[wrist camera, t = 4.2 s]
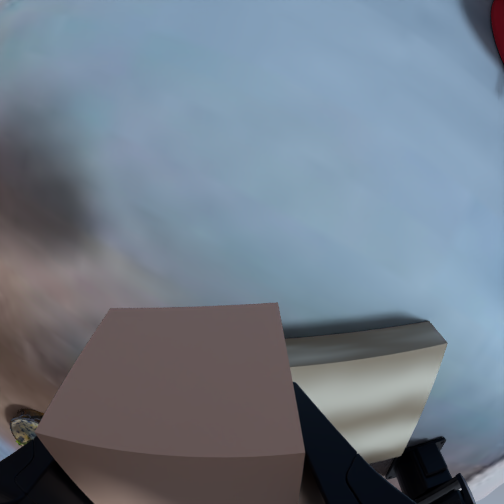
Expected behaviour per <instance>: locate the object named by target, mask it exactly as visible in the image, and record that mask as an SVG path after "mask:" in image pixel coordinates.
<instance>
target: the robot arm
mask: <svg viewBox="0 0 504 504" xmlns="http://www.w3.org/2000/svg"><path fill="white" fill-rule="evenodd" d="M293 386H294V392H295V397H296V403H297V409H298V414H299V420H300V425H301V431H302V437H303V443H304V448H305V458H304V465H303V473H302V480H301V486H300V493H299V499H298V504H476V503H475V500H474V498H473V495H472V493H471V491H470V489H469V487H468V485H467V483H466V481H465V479H464V478H463V476H462V475H461V474H460V473H459V474H457V475H456V476H455V477H454V478H452V477H451V475H450V473H449V470H448V467H447V465H446V463H445V461H444V458H443V456H442V454H441V452H440V450H441V448H442V447H443V445H444V443H445V442H446V439H445V438H444V437H443V438H440V439H437V440H434V441H431V442H428V443H425V444H422V445H418V446H415V447H412V448H408V449H405V450H404V451H403V453H402V455H401V456H399V457H395V459H394V461H393V463H392V465H391V467H390V469H389V470H388V472H387V474H386V476H385V477H386V479H391V478H395V477H397V479H398V482H399V485H400V488H401V490H402V492H401V491H399V490H398V489H397V488H395V487H394V486H393V485H392V484H390V483H389V482H388V481H387V480H386V479H384V478H383V477H382V476H381V475H380V474H378V473H377V472H376V471H375V470H374V469H373V468H372V467H371V466H370V465H369V464H368V463H367V462H366V461H365V460H364V459H363V457H362V456H361V455H360V454H357V451H356V450H355V449H354V448H353V447H352V446H351V445H350V443H349V442H348V441H347V440H346V439H345V438H344V437H343V436H342V435H341V433H340V432H339V431H338V430H337V429H336V428H335V427H334V426H333V424H332V423H331V422H330V421H329V420H328V419H327V418H326V416H325V415H324V414H323V413H322V412H321V411H320V410H319V408H318V407H317V406H316V405H315V404H314V403H313V402H312V400H311V399H310V398H309V397H308V396H307V395H306V393H305V392H304V391H303V390H302V389H301V388H300V386H299V385H298V384H297V383H296V382H293ZM460 488H462V490H461V491H460V490H459V489H460ZM0 504H94V503H93V502H92V501H91V500H90V499H89V498H88V497H87V496H86V495H85V493H84V492H83V491H82V490H81V489H80V488H79V487H78V486H77V485H76V484H75V483H74V481H73V480H72V479H71V478H70V477H69V476H68V475H67V473H66V472H65V471H64V470H63V469H62V467H61V466H60V465H59V464H58V463H57V461H56V460H55V459H54V458H53V456H52V455H51V454H50V453H49V451H48V450H47V449H46V447H45V446H44V445H43V443H42V442H41V441H40V439H39V438H38V436H36V437H34V440H33V439H32V440H30V441H29V442H28V443H27V444H25V445H24V446H22V447H21V448H20V449H18V450H17V451H16V452H14V453H13V454H11V455H10V456H8V457H6V458H5V459H3V460H2V461H0Z"/></svg>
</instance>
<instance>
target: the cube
mask: <svg viewBox="0 0 504 504" xmlns="http://www.w3.org/2000/svg"><path fill="white" fill-rule="evenodd" d="M35 434H36V435H37V436H38V438H39V439H40V441H41V442H42V443H43V445H44V446H45V447H46V449H47V450H48V451H49V453H50V454H51V455H52V456H53V458H54V459H55V460H56V461H57V463H58V464H59V465H60V466H61V467H62V469H63V470H64V471H65V472H66V473H67V475H68V476H69V477H70V478H71V479H72V480H73V481H74V483H75V484H76V485H77V486H78V487H79V488H80V489H81V490H82V491H83V492H84V493H85V495H86V496H87V497H88V498H89V499H90V500H91V501H92V502H93V503H94V504H298V499H299V493H300V486H301V480H302V473H303V465H304V458H305V448H304V443H303V437H302V431H301V425H300V420H299V414H298V409H297V403H296V397H295V392H294V386H293V381H292V375H291V370H290V365H289V359H288V354H287V348H286V343H285V338H284V332H283V327H282V322H281V317H280V311H279V306H278V303H263V304H246V305H226V306H202V307H170V308H110V310H109V311H108V313H107V314H106V316H105V317H104V319H103V320H102V322H101V323H100V325H99V326H98V328H97V329H96V331H95V332H94V334H93V335H92V337H91V338H90V340H89V341H88V343H87V344H86V346H85V347H84V349H83V351H82V352H81V354H80V355H79V357H78V358H77V360H76V362H75V363H74V365H73V366H72V368H71V370H70V371H69V373H68V375H67V376H66V378H65V380H64V381H63V383H62V385H61V386H60V388H59V390H58V391H57V393H56V395H55V396H54V398H53V400H52V402H51V403H50V405H49V407H48V409H47V410H46V412H45V414H44V416H43V417H42V419H41V421H40V423H39V425H38V426H37V428H36V430H35Z"/></svg>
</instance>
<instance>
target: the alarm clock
mask: <svg viewBox="0 0 504 504" xmlns="http://www.w3.org/2000/svg"><path fill="white" fill-rule="evenodd" d="M491 22H492V29H493V34H494V38H495V42H496V45H497V48H498V51H499V54H500V56H501V58H502V61H503V63H504V0H494V2H493V4H492V9H491Z"/></svg>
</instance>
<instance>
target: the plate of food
mask: <svg viewBox="0 0 504 504" xmlns="http://www.w3.org/2000/svg"><path fill="white" fill-rule="evenodd" d="M20 410H21V411H20V412H19V411H18V412H17V414H18V415H17V417H16V418H15V417H14V418H13V419H12V420H11V422H10V429H11V431H12V434H13V436H14V437H15V439H16V442H17V443H18V444H19V445H21V446H24V445H25V444H27V443H28V442H29V441H30V440H32V439H33V440H34V437H36V436H37V435H36V434H35V430H36V428H37V426H38V425H39V423H40V421H41V419H42V417H43V416H44V414H43V413H40V412H37V411H35V410H30V409H20Z"/></svg>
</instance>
